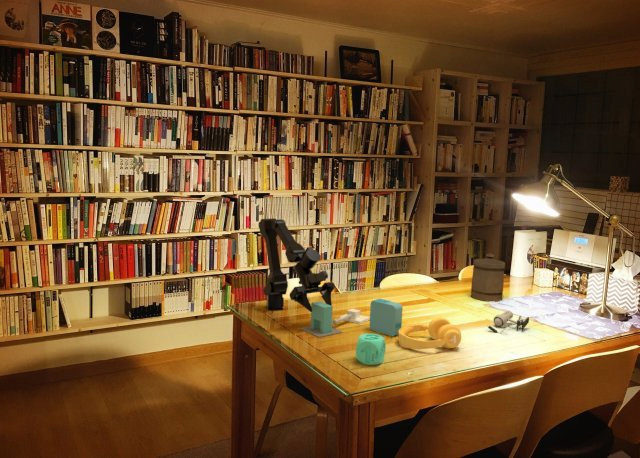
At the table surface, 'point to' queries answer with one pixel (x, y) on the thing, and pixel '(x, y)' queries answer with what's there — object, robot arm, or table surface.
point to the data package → (385, 317)
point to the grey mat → (317, 331)
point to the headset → (438, 331)
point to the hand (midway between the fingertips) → (321, 309)
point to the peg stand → (352, 317)
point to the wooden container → (488, 279)
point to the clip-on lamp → (506, 316)
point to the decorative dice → (370, 349)
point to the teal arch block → (321, 317)
